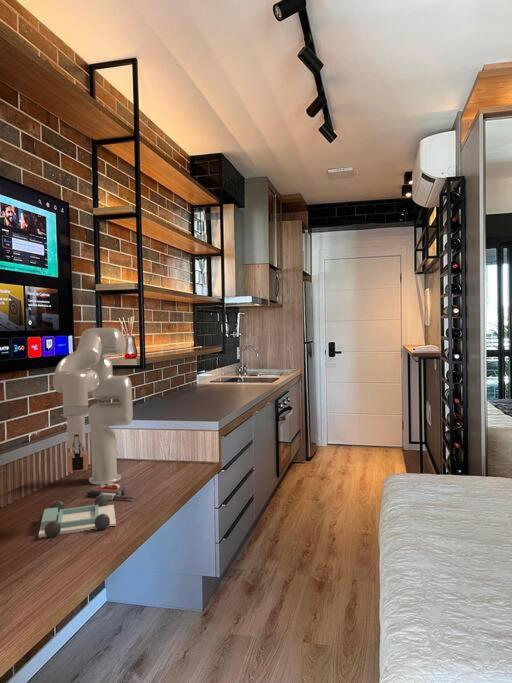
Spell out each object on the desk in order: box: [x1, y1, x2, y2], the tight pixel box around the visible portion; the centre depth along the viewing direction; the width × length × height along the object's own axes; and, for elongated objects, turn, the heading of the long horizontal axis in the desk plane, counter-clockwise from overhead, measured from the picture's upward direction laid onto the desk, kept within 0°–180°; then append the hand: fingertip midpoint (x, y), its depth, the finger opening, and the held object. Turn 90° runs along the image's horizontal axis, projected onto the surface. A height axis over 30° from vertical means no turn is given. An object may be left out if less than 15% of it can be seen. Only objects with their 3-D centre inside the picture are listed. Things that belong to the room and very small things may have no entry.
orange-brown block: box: [66, 450, 89, 473], centre depth 159 cm, size 5×6×5 cm
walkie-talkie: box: [86, 482, 135, 501], centre depth 183 cm, size 9×4×20 cm
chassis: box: [38, 495, 117, 539], centre depth 159 cm, size 21×22×4 cm
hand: (78, 467), depth 159 cm, fingers closed on orange-brown block, 5 cm apart
